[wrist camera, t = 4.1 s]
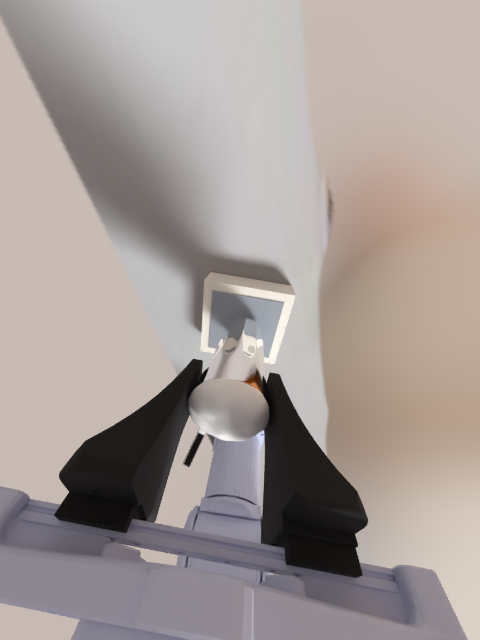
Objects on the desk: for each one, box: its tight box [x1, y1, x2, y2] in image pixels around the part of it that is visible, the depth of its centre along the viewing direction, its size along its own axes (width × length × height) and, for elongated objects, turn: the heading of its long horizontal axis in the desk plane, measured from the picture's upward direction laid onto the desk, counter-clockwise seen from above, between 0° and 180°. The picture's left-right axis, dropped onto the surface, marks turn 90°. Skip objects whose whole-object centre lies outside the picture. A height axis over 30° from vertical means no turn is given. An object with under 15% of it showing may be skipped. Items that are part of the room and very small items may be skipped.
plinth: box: [201, 272, 296, 364], centre depth 20 cm, size 8×8×3 cm
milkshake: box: [183, 318, 270, 467], centre depth 14 cm, size 5×5×10 cm
